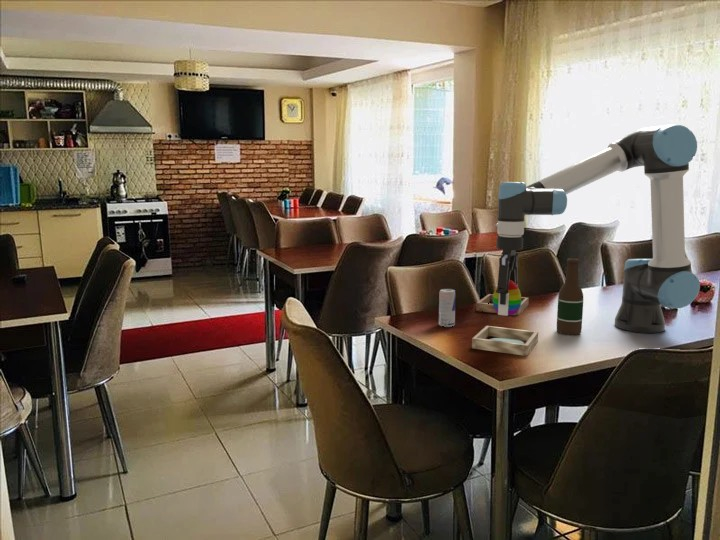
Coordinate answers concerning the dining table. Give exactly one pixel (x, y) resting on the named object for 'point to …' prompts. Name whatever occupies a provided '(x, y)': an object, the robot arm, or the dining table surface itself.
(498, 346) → the shallow wooden tray
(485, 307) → the weathered wood tray
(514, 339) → the pad
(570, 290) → the beer bottle
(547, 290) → the dining table surface
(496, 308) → the decorative egg
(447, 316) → the energy drink
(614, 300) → the dining table surface
